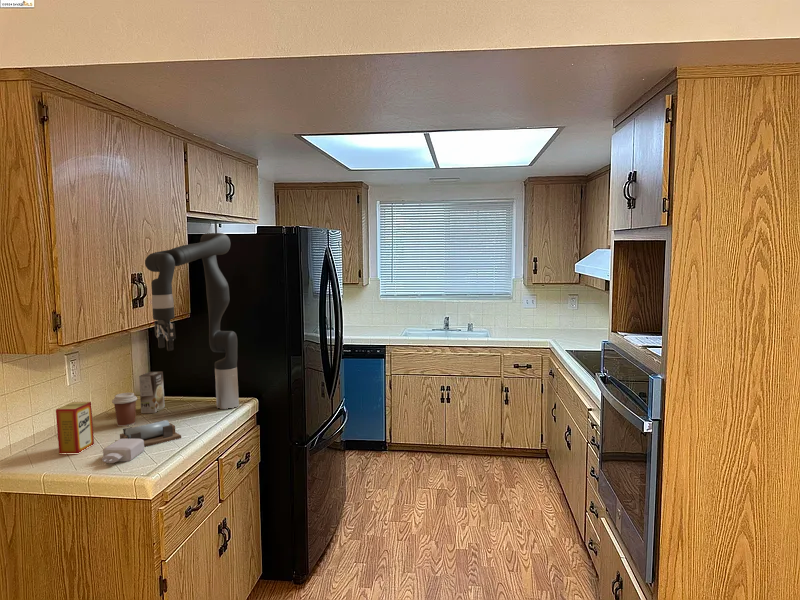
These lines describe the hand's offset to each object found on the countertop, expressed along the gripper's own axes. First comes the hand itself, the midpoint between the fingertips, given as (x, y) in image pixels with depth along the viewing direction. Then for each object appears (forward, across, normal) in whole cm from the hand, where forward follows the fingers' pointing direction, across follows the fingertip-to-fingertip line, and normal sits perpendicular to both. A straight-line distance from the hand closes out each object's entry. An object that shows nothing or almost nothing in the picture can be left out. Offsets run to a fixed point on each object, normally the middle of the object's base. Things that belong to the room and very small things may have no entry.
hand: (166, 349), depth 216 cm
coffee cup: (+32, +20, +10) cm, 39 cm away
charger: (+31, -20, +25) cm, 44 cm away
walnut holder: (+31, -7, +11) cm, 34 cm away
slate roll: (+30, -7, +11) cm, 33 cm away
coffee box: (+32, +33, -5) cm, 46 cm away
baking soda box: (+31, +2, +32) cm, 45 cm away
